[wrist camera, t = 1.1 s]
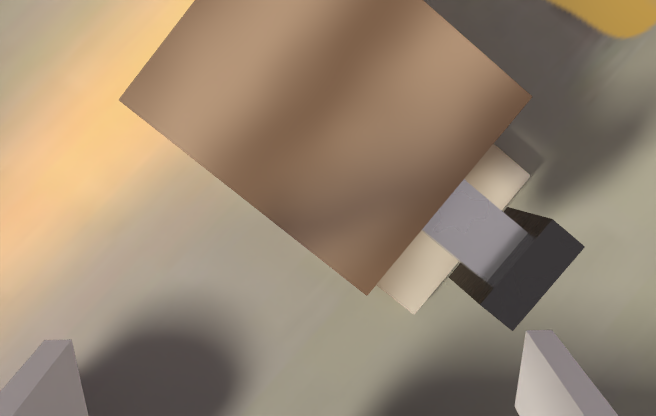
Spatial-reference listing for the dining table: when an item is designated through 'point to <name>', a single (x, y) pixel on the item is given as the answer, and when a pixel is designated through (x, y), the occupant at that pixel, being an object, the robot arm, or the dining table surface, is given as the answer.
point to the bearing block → (338, 124)
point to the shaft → (501, 252)
